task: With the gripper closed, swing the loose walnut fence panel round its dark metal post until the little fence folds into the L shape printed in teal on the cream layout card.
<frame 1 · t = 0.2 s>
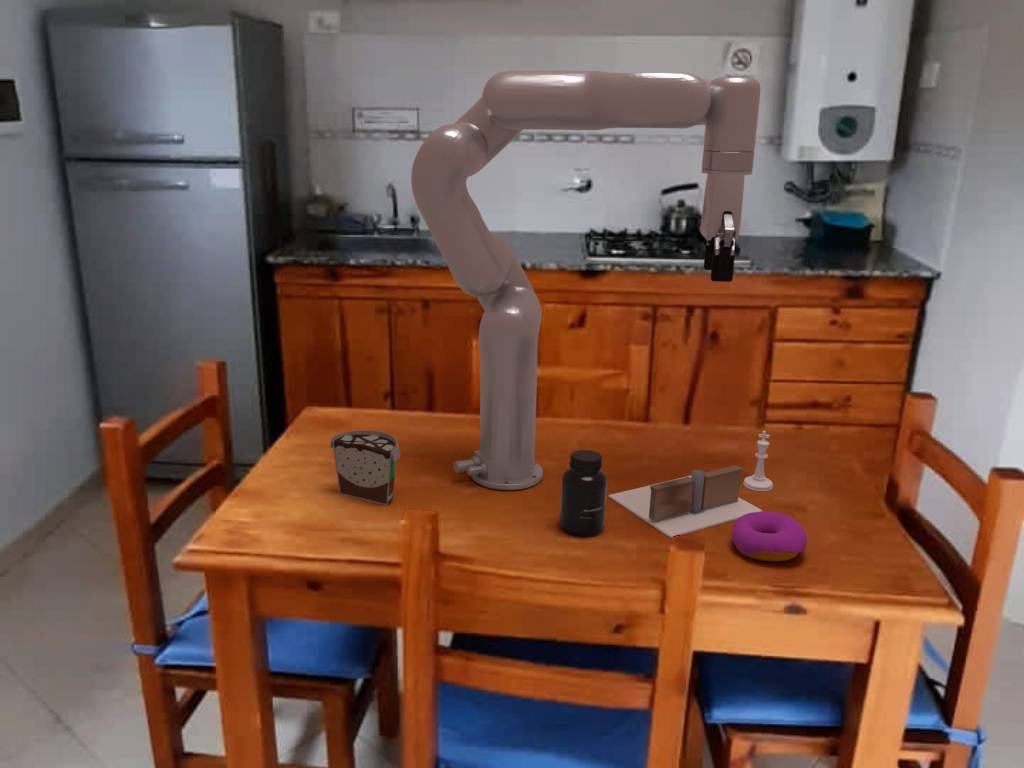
hand: (717, 275, 133), 37 cm above the table, tool pointing down, fingers open, 9 cm apart
donut: (766, 551, 125), on the table
fence panel: (671, 498, 132), point 4 cm above the table, hinge at 0.0°
food container: (373, 493, 140), on the table
supplement bottle: (581, 528, 130), on the table
fence base: (694, 512, 135), on the table
chess piece: (757, 486, 146), on the table
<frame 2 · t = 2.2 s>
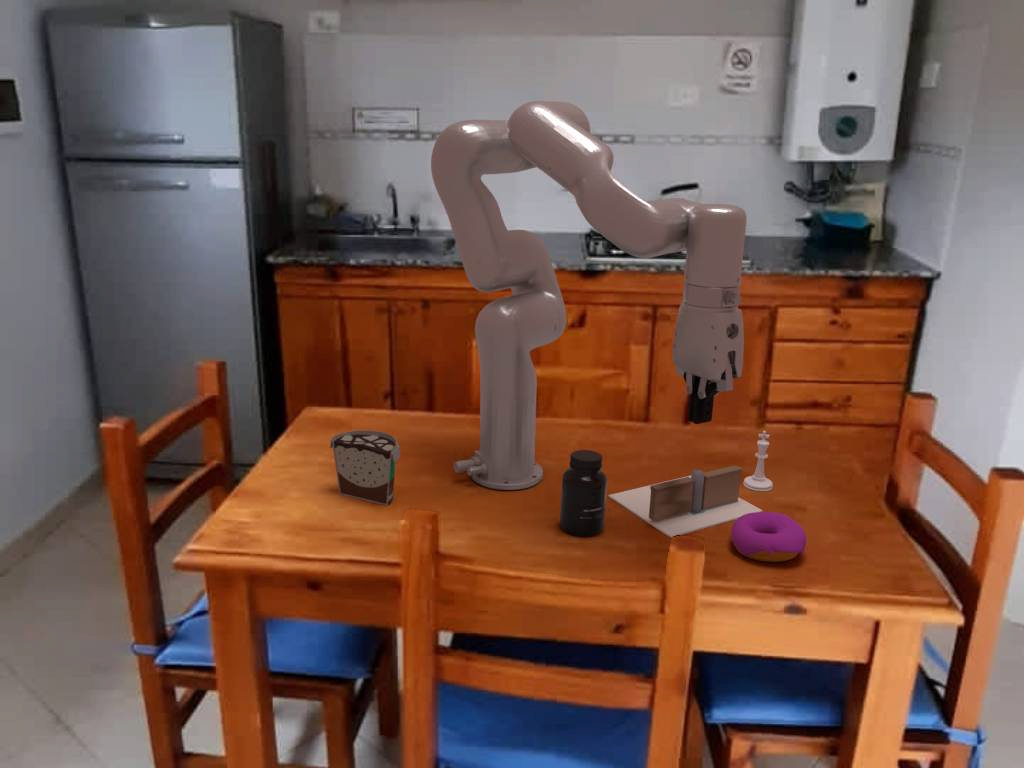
hand: (699, 420, 122), 19 cm above the table, tool pointing down, fingers closed
nothing on the table moved.
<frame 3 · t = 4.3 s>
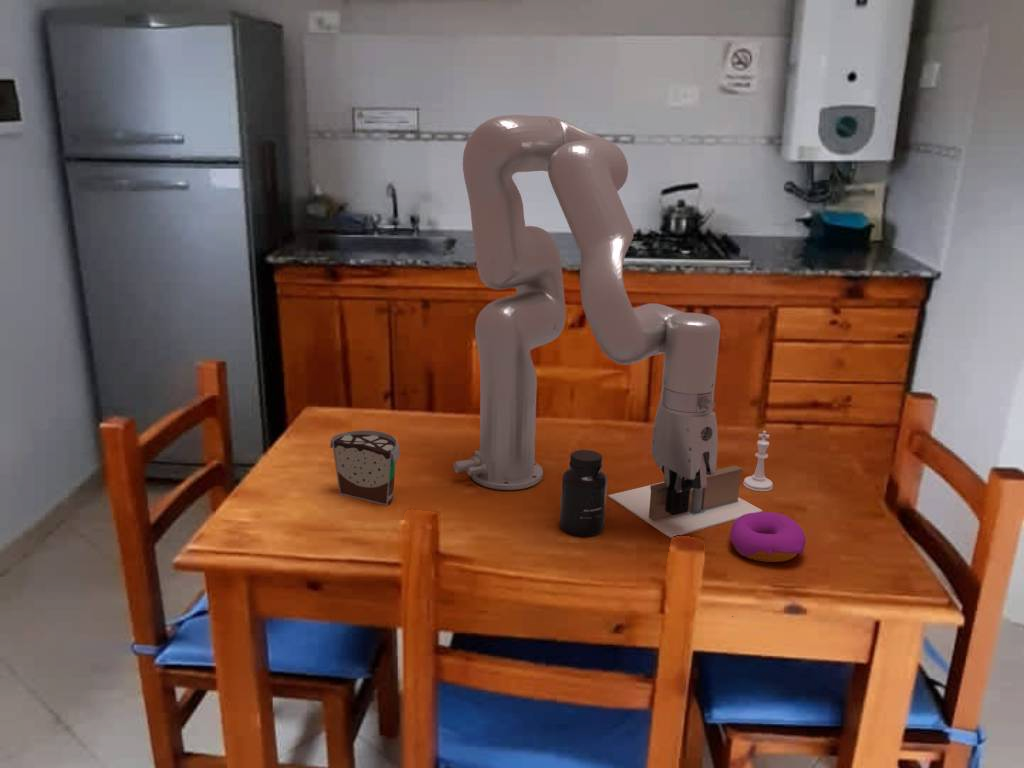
hand: (676, 511, 129), 3 cm above the table, tool pointing down, fingers closed
fence panel: (671, 498, 132), point 4 cm above the table, hinge at 0.0°, touching gripper
everything else where it was.
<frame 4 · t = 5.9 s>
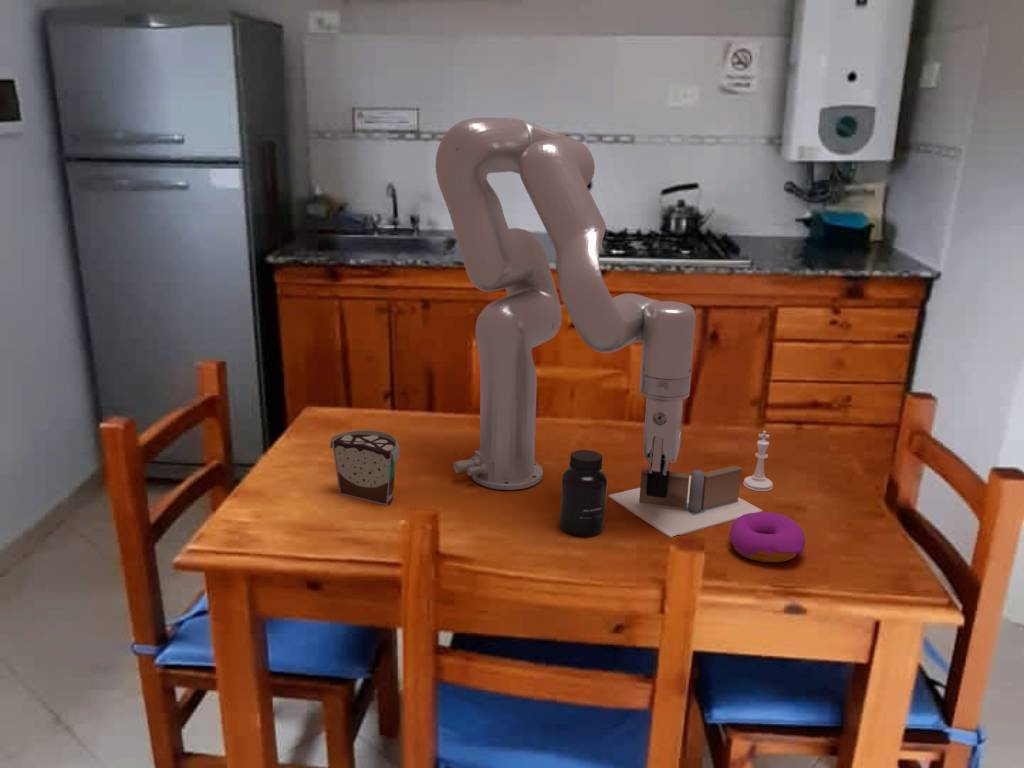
hand: (656, 494, 133), 4 cm above the table, tool pointing down, fingers closed
fence panel: (664, 488, 135), point 4 cm above the table, hinge at 43.3°, touching gripper
everything else where it was.
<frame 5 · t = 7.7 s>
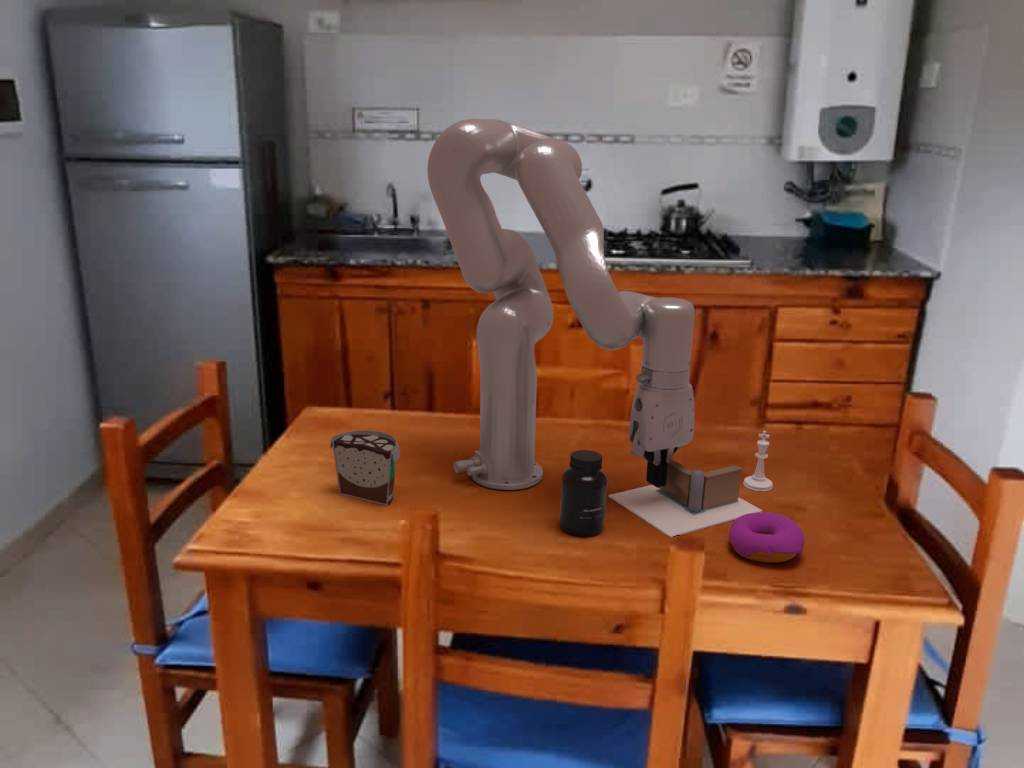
hand: (656, 483, 138), 3 cm above the table, tool pointing down, fingers closed
fence panel: (676, 480, 139), point 4 cm above the table, hinge at 92.0°
everything else where it was.
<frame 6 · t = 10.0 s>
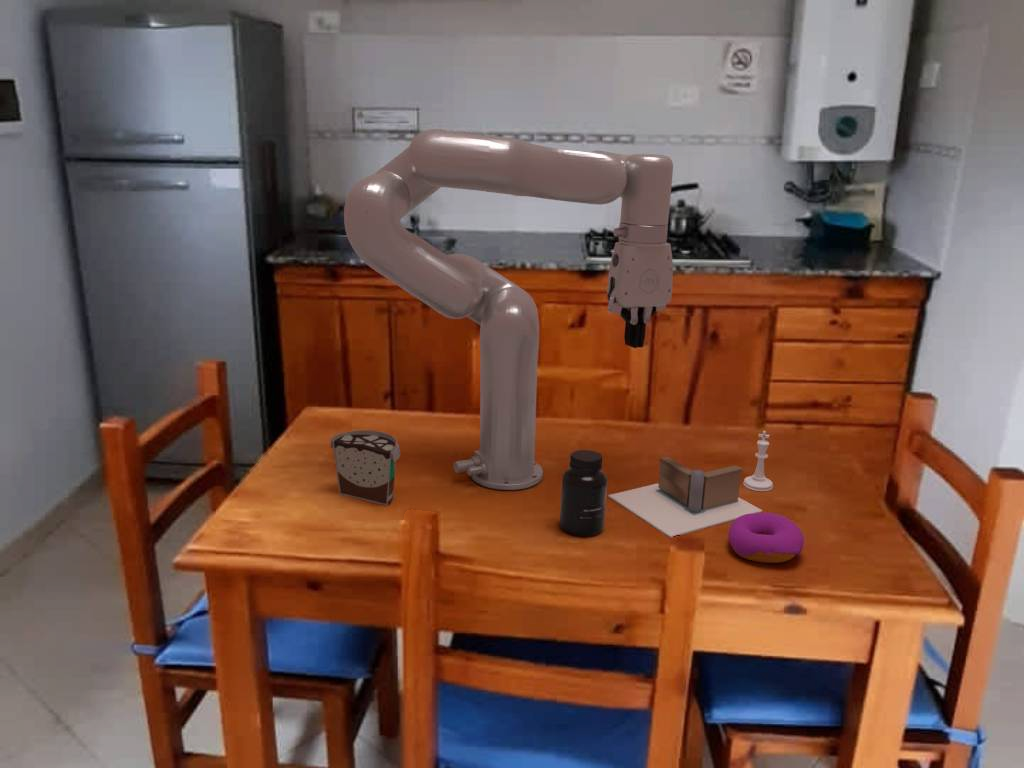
hand: (633, 345, 140), 24 cm above the table, tool pointing down, fingers closed
nothing on the table moved.
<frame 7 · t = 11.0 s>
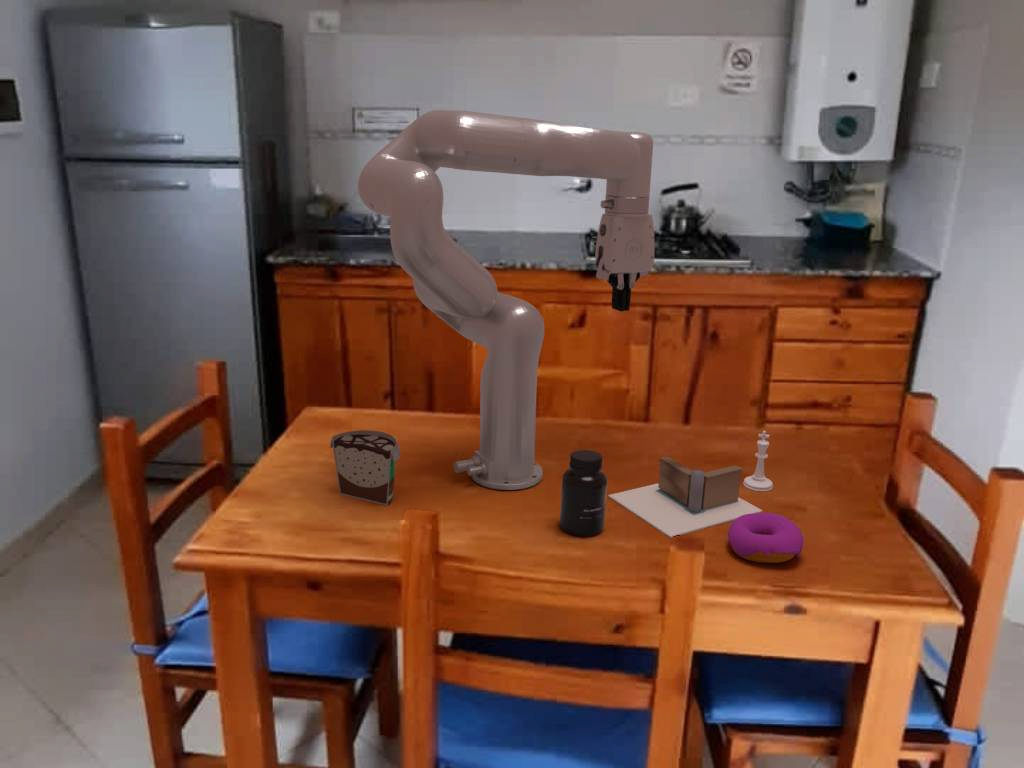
hand: (620, 309, 152), 27 cm above the table, tool pointing down, fingers closed
nothing on the table moved.
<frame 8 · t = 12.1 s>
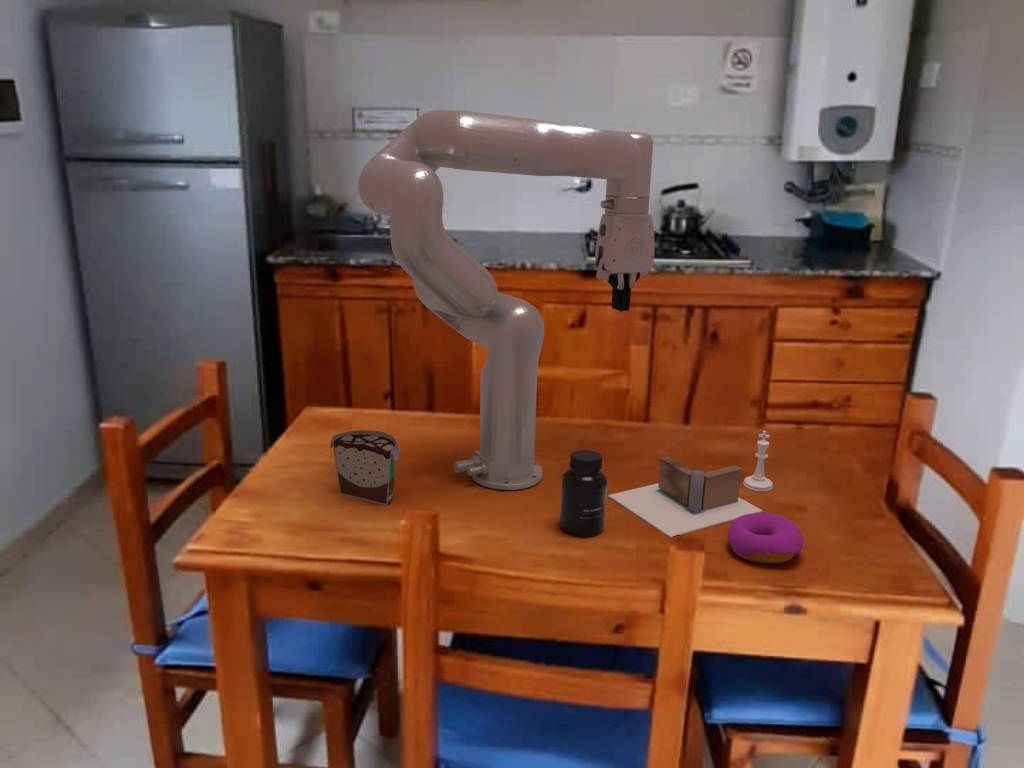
hand: (620, 309, 152), 27 cm above the table, tool pointing down, fingers closed
nothing on the table moved.
at the end: fence panel at +92° (first picture: +0°) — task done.
